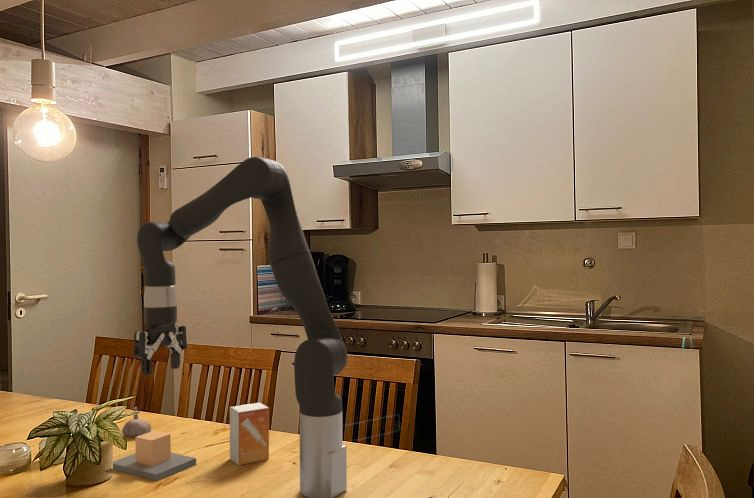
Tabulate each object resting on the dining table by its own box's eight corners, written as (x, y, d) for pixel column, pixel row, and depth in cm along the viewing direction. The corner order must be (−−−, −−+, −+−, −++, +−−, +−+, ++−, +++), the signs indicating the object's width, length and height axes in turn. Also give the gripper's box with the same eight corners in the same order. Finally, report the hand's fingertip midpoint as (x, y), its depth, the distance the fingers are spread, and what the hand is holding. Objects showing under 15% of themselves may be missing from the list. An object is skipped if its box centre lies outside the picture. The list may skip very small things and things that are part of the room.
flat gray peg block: (196, 464, 148) (195, 439, 148) (156, 481, 138) (156, 454, 138) (150, 453, 156) (150, 430, 156) (109, 468, 145) (109, 443, 145)
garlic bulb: (116, 437, 170) (116, 408, 170) (138, 430, 177) (138, 402, 177) (135, 441, 167) (134, 412, 166) (156, 433, 173) (156, 405, 173)
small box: (238, 466, 147) (238, 412, 147) (229, 458, 152) (228, 406, 152) (269, 459, 151) (269, 407, 151) (259, 452, 157) (259, 401, 157)
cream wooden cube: (170, 458, 148) (170, 433, 148) (151, 466, 143) (151, 440, 143) (154, 454, 151) (154, 430, 151) (135, 462, 146) (135, 436, 146)
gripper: (147, 307, 140) (148, 378, 140) (193, 302, 152) (194, 367, 152) (125, 306, 143) (126, 375, 143) (172, 301, 156) (173, 365, 156)
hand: (161, 371), depth 148 cm, fingers open, 8 cm apart
